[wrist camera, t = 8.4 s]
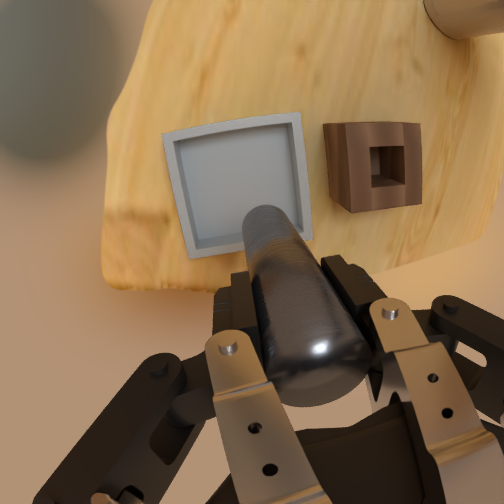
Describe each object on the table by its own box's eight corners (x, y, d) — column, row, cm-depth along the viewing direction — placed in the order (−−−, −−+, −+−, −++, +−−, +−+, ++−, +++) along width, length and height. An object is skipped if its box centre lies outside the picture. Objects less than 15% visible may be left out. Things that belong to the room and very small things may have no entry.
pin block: (388, 121, 31) (420, 123, 25) (392, 189, 35) (421, 204, 28) (323, 123, 31) (344, 123, 24) (329, 196, 35) (351, 213, 28)
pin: (287, 201, 18) (378, 320, 7) (291, 245, 19) (365, 392, 8) (238, 208, 18) (259, 347, 7) (246, 253, 19) (272, 414, 8)
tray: (292, 113, 30) (300, 111, 27) (304, 227, 36) (313, 239, 32) (169, 133, 30) (161, 134, 27) (193, 245, 36) (189, 259, 32)
